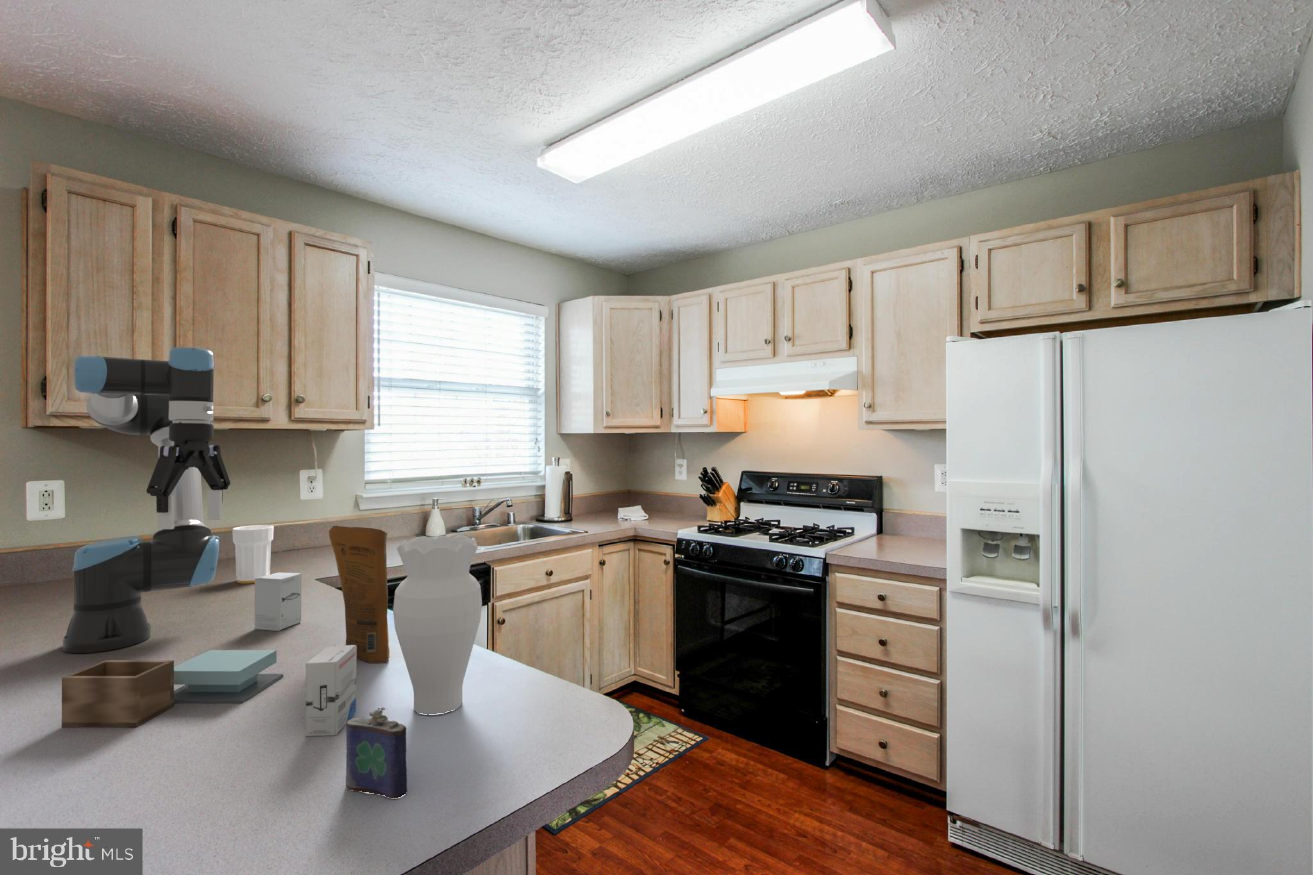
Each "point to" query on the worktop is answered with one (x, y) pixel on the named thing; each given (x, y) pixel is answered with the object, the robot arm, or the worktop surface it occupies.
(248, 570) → the cup
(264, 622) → the supplement box
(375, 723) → the flask
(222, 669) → the lid
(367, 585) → the pancake mix bag
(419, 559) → the vase
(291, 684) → the worktop surface
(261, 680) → the mat
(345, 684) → the ink box
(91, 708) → the crate
